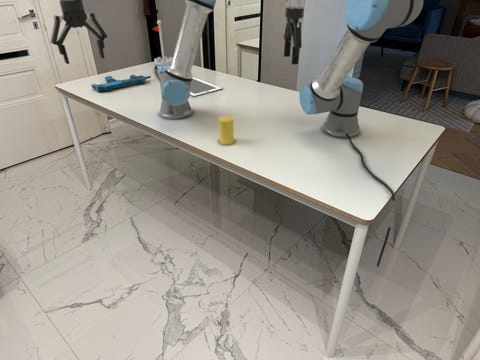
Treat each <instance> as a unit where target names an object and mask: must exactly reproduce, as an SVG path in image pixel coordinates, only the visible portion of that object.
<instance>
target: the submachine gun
mask: <svg viewBox="0 0 480 360" xmlns="http://www.w3.org/2000/svg"><path fill="white" fill-rule="evenodd" d="M151 78H152V76H151V75H147V76H145V75H135V74H130V75H129V78H126V79H118V80H117V79H115V78H113V76H112V75H108V76H105V77H104V80H105V81H106V82H105V83H100V84H97V83H91V84H90V85H91V88H92V89H93V90H95V91H96V92H103V91H109V92H111V91H112V89H117V88H122V87H126V86H130V85H136V84H141V83H145V82H146V81H147V79H151Z"/></svg>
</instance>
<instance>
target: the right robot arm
mask: <svg viewBox="0 0 480 360" xmlns="http://www.w3.org/2000/svg"><path fill="white" fill-rule="evenodd" d="M284 1H285V6H286V8H285V14H284V17H285V18H286V25H285V29H284V33H283V34H284V35H283V40H284V49H283V51H284V52H283V57H284V58H288V57H289V58H290V57H291V65H299V60H300V59H299V58H300V49H302V47H303V46H302V22H299V20H300V19H303V18H304V15H305V14H304V13H305V8H304V7H305V6H306V5H305V3H306V0H284ZM423 6H424V0H348V1H347V5H346V7H345V8H346V11H345V21H346V22H345V23H346V24H345V25H346V30H345V32H344V34H343V35H342V37H341V39H340V40H339V42H338V44H337V45H336V47H335V49H334V50H333V52H332V54H331V56H330V57H329V59H328V61H327V63H326V64H325V65H324V67H323V69H322V71H321V72H320V74H317V75H315V76H314V77H313V78H312V80H311V82H310V84H305V85H303V86H301V87H300V89H299V91H298V92H299V94H298V98H299V104H300V108H301V109H302V111H303V112H304V113H305V114H306V115H308V116H309V115H318V114H325V113H328V115H327V116H326V118H325V121H324V123H323V126H322V130H323V132H324V133H325V134H326V135H329V136H332V137H335V138H339V139H341V138H342V139H347V140H348V141H349V143H350V145H351V146H352V148H353V149H354V151H356V152H357V153H358V154H359V157H360V161H361V165H362V166H363V168H364V169H365V170H366V172H367V173H368V174H369V175H370V176H371V177H372V178H373V179H375V180H376V181H378V182H379V183H381V184H382V185H383V186H384V187H385V188H386V189H387V190H388V191H389V192H390V195H391V199H392V200H391V201H393V202H395V201H396V197H395V193H394V192H395V191H394V190H393V189H392V188H391V187H390V186H389V185H388V184H387V183H386V182H384V180H382V179H380V177H377V176H376V175H375V174H374V173H373V172H372V171H371V170H370V169H369V168H368V167H367V165H366V163H365V161H364V155H363V153H362V152H361V151H360V149H359V148H357V147H356V145H355V144H354V143H353V141H352V139H351V138H354V137H356V136H357V135H359V132H360V125H359V118H358V117H359V116H358V114H359V111H360V110H359V109H360V105H361V100H362V95H363V89H364V83H363V81H362V80H360V79H359V78H356V77H353V76H348V75H350V73H351V72H352V70H353V68H354V67H355V65H356V64H357V63H358V61H359V60H360V59H361V57H362V55H363V54H364V53H365V51H366V50H367V49H368V47H369V46H370V45H371V43H376V42H377V41H378V40H380V38H381V37H382V35H383V34H384V33H385V32H386V30H388V29H392V28H393V29H395V28H400V27H406V26H407V25H409V24H411V23H412V22H414V21H415V20H416V19H417V18H418V16H419V15H420V14H421V11H422V9H423ZM291 44H292V45H293V46H292V45H291ZM291 49H292V51H291ZM291 52H292V53H291ZM291 54H292V55H291ZM390 232H391V226H389V227H387V230H386V235H385V237H384V238H385V239H384V241H383V243H382V247H381V250H380V253H379V256H378V260H377V263H376V267H377V268H378V267H379V268H380V264H381V260H382V258H383V254H384V252H385V248H386V245H387V242H388V239H389V235H390Z"/></svg>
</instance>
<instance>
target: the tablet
mask: <svg viewBox="0 0 480 360" xmlns="http://www.w3.org/2000/svg"><path fill="white" fill-rule="evenodd" d="M220 90H223V87H221V86H217V85H215V84H212V83H210V82H207V81H205V80H201V79H199V78H197V77H196V76H195V77H194V76H193V79H192V82H191V85H190V96H192V97H197V96H202V95H205V94H208V93H212V92H216V91H220Z"/></svg>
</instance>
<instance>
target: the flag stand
mask: <svg viewBox="0 0 480 360" xmlns="http://www.w3.org/2000/svg"><path fill="white" fill-rule="evenodd" d="M156 24H157V25H156V26H154V27H153V28H152V30H153V31H155V32H157V33H159V41H160V48H161V49H160V50H161V56H162V57H161V56H158V57H157V58H156V57H155V58H154V64H155V66H156V65H157V67H156V69H159V67H161V66H165V65H171V63H172V59H173V56H165V48H164V41H163V40H164V39H163V32H162V21H161V20H160V19H158V20H157V21H156Z"/></svg>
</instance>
